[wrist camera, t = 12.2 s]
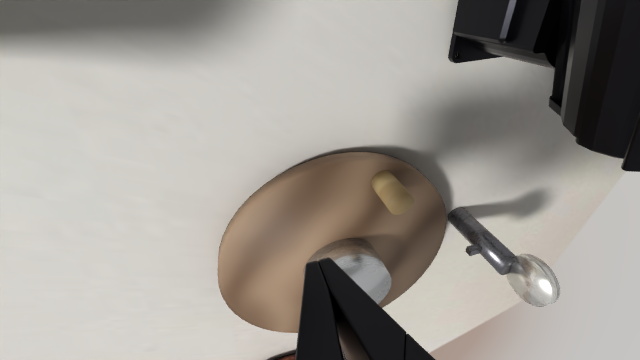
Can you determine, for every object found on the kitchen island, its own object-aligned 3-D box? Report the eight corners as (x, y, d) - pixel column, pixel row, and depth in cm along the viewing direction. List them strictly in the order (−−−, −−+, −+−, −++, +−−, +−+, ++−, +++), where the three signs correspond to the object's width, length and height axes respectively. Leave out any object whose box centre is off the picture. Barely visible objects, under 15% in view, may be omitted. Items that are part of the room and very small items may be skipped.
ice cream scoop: (469, 197, 29) (569, 283, 20) (460, 226, 31) (547, 313, 23) (442, 204, 28) (533, 295, 20) (435, 233, 31) (514, 325, 22)
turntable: (476, 171, 26) (516, 201, 22) (383, 313, 36) (400, 349, 32) (242, 127, 18) (247, 162, 14) (204, 326, 28) (200, 377, 24)
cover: (388, 240, 26) (405, 266, 23) (357, 291, 29) (369, 319, 26) (319, 234, 23) (330, 263, 20) (292, 291, 26) (299, 322, 23)
